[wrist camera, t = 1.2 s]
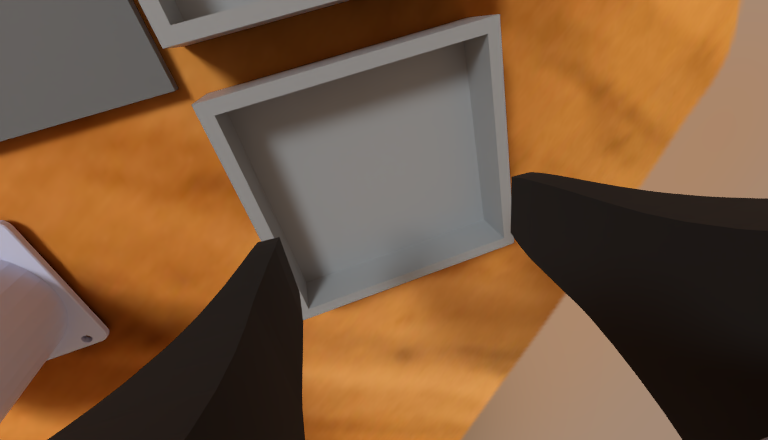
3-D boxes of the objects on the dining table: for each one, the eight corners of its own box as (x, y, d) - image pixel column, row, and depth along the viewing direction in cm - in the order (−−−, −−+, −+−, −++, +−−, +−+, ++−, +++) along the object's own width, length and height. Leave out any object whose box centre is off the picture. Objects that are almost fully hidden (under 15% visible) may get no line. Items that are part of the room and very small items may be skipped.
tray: (299, 287, 22) (302, 320, 19) (206, 94, 16) (191, 104, 13) (488, 220, 23) (513, 242, 21) (467, 17, 17) (499, 14, 15)
